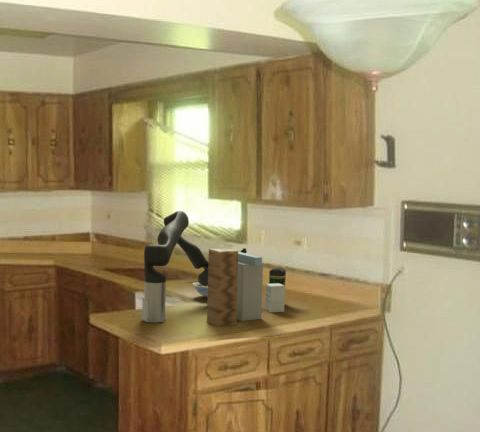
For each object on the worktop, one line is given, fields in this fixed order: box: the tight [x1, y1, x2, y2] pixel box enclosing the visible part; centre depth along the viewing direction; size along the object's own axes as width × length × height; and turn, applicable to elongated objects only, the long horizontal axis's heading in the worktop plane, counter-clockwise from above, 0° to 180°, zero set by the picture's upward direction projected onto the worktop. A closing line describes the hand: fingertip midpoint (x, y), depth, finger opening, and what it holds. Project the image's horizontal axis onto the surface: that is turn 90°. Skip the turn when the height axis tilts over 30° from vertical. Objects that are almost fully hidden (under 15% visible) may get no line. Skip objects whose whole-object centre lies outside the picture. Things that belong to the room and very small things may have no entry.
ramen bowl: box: [187, 280, 208, 299], centre depth 376 cm, size 25×23×8 cm
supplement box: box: [264, 283, 286, 313], centre depth 348 cm, size 7×7×13 cm
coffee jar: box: [268, 266, 287, 287], centre depth 362 cm, size 10×8×19 cm
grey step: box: [236, 261, 264, 322], centre depth 331 cm, size 10×12×25 cm
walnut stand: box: [206, 247, 239, 327], centre depth 316 cm, size 9×10×32 cm
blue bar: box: [238, 251, 263, 266], centre depth 331 cm, size 4×24×4 cm, turn 30°
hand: (237, 250), depth 337 cm, fingers open, 8 cm apart
